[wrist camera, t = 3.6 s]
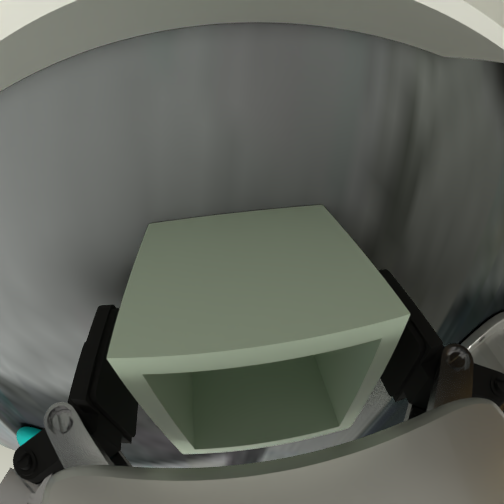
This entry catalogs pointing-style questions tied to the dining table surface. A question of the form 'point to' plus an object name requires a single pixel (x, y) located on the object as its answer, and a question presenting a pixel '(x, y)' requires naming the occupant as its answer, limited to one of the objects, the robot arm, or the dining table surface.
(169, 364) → the box
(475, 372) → the robot arm
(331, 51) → the dining table surface
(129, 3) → the white shallow tray
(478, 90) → the dining table surface
